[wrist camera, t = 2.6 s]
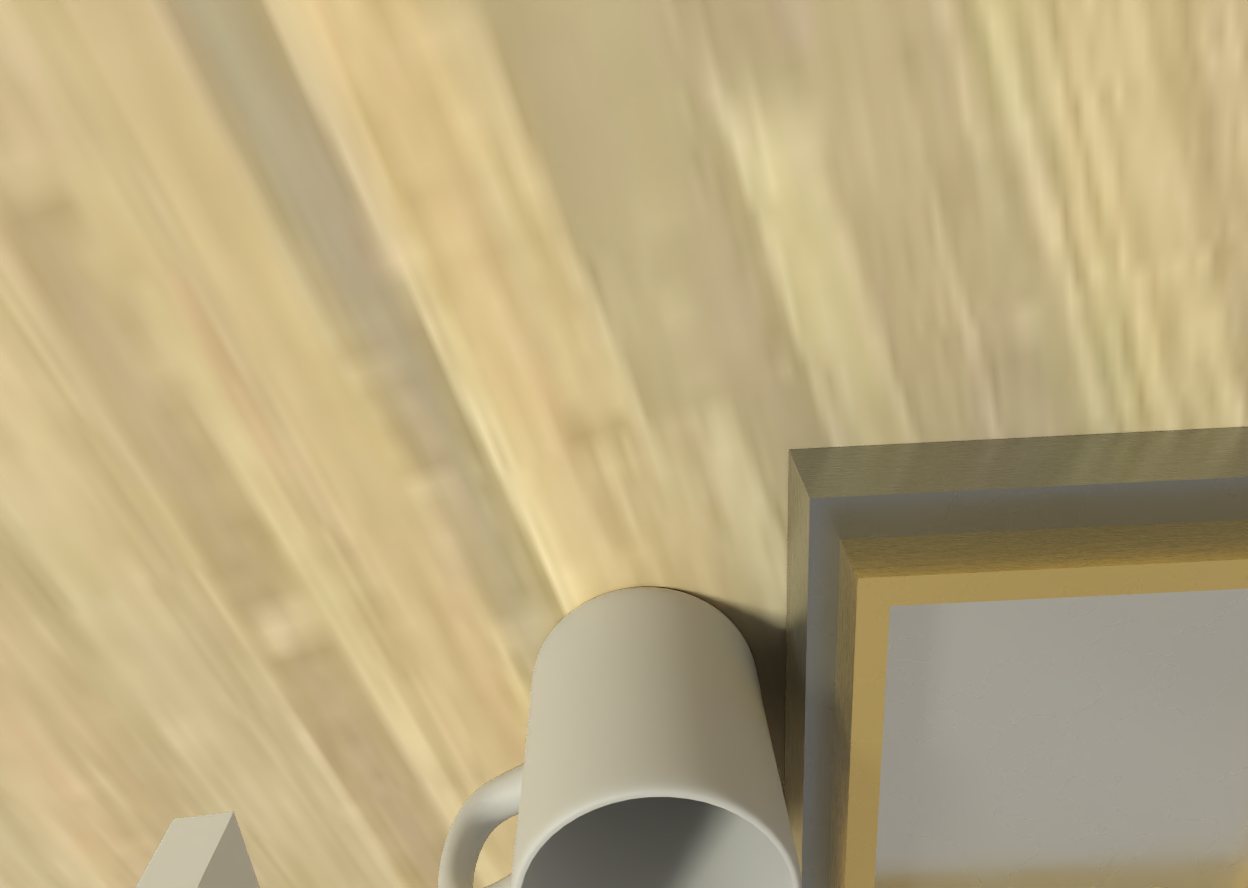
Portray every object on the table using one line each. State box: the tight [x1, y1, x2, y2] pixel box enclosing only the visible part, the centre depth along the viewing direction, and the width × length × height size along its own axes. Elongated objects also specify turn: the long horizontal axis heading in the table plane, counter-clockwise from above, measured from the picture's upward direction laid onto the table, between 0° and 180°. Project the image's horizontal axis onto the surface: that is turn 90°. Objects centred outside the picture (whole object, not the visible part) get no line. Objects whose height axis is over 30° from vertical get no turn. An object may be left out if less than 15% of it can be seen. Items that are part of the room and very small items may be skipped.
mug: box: [438, 587, 802, 888], centre depth 35 cm, size 12×8×11 cm
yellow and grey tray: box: [785, 427, 1248, 888], centre depth 37 cm, size 23×20×6 cm
